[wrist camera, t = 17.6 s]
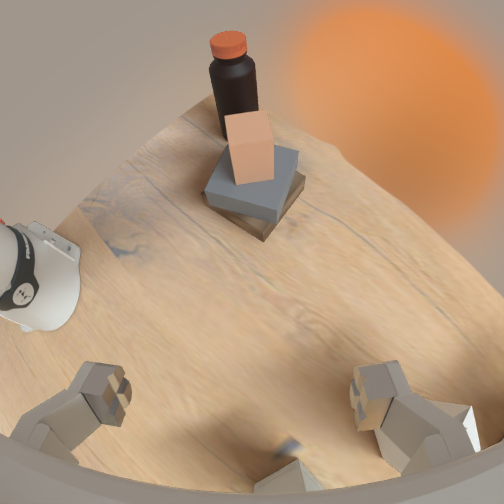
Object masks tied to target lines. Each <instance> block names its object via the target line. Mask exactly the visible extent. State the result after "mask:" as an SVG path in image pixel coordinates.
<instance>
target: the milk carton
mask: <svg viewBox="0 0 504 504" xmlns="http://www.w3.org/2000/svg"><path fill="white" fill-rule="evenodd" d="M426 400H428V399H426ZM428 401H429V402H430V403H432V404H433V405H435V406H436V407H438V408H439V409H441V410H442V411H444V412H445V413H447V414H448V415H450V416H451V417H453V418H454V419H456V420H457V421H459V422H460V423H462V424H463V425H464V427H465V429H466V431H467V433H468V436H469V438H470V440H471V443H472V445H473V447H474V450H475V452H478V451H481V449H480V443H479V438H478V432H477V427H476V423H475V418H474V414H473V409H472V406H471V405H462V404H455V403H448V402H441V401H434V400H428ZM374 432H375V435H376V439H377V442H378V445H379V448H380V452H381V455H382V458H383V460H385V461H386V462H387V463H388V464H390V465H391V466H392V467H393V468H395V469H396V470H397V471H398V472H400V473H401V472H402V471H403V469H404V468H405V467H406V465H407V464H408V463H409V461H410V460H411V459H410V458H409V457H408V456H407V455H406V454H405V453H403V452H402V451H401V450H400V449H399V448H398V447H397V446H396V445H395V444H394V443H393V442H392V441H391V440H390V439H389V438H388V437H387V436H386V435H385V434H384V433H383V432H382V431H381V430H380V429H374Z"/></svg>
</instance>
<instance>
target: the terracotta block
mask: <svg viewBox="0 0 504 504" xmlns="http://www.w3.org/2000/svg"><path fill="white" fill-rule="evenodd" d="M224 117H225V124H226V130H227V137H228V144H229V150H230V155H231V160H232V166H233V171H234V176H235V182H236V185H241V184H247V183H253V182H260V181H266V180H273V179H274V138H273V134H272V130H271V127H270V123H269V119H268V116H267V112H266V110H261V111H254V112H246V113H240V114H233V115H227V116H224Z"/></svg>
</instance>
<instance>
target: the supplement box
mask: <svg viewBox="0 0 504 504" xmlns="http://www.w3.org/2000/svg"><path fill="white" fill-rule="evenodd" d="M319 490H325V489H324V488H323V487H322V485H321V484H320V483H319V482H318V481H317V480H316V479H315V477H314V476H313V475H312V474H311V473H310V472H309V470H308V469H307V468H306V467H305V466H304V465H303V463H302V462H301V461H300V460H299V459H296V460H295V461H293V462H291V463H290V464H288V465H287V466H285V467H283V468H281V469H280V470H278V471H277V472H275V473H273V474H271V475H270V476H268V477H266V478H264V479H263V480H261V481H259V482H257V483H255V484H254V490H253V493H292V492H307V491H319Z"/></svg>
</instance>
